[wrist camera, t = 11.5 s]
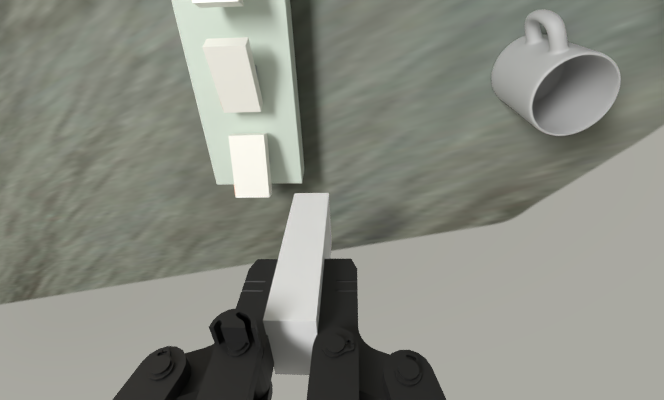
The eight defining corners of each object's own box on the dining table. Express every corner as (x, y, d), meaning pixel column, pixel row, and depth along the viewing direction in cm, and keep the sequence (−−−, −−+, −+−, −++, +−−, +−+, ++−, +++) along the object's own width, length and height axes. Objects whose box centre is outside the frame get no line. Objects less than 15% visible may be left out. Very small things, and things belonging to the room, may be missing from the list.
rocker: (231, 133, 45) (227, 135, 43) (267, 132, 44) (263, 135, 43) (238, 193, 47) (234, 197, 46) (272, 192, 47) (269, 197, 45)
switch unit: (162, -88, 36) (140, -95, 32) (282, -94, 36) (274, -102, 32) (222, 170, 53) (212, 186, 49) (304, 169, 52) (301, 185, 48)
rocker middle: (205, 38, 37) (200, 47, 35) (248, 37, 36) (245, 45, 35) (226, 103, 43) (222, 112, 42) (263, 102, 43) (260, 112, 41)
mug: (565, 87, 45) (623, 118, 35) (497, 114, 47) (534, 149, 38) (556, -13, 39) (622, -7, 30) (478, 22, 41) (517, 38, 32)
